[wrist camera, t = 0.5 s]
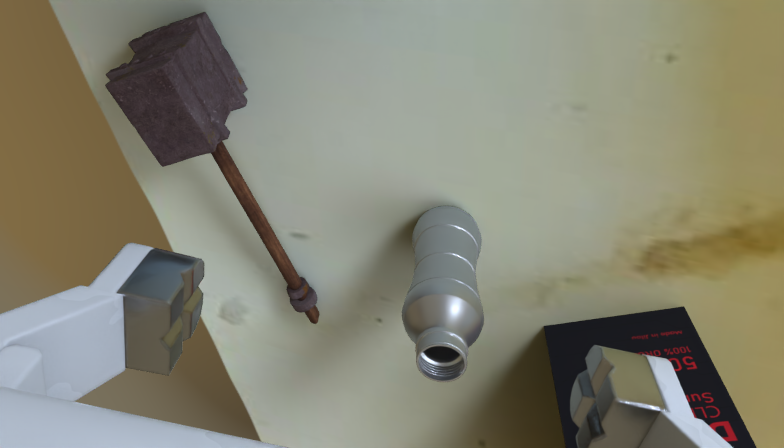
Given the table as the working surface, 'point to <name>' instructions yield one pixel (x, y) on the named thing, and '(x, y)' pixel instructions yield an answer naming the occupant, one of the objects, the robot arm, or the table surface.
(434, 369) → the plastic bottle
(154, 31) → the hammer
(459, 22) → the table surface
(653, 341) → the product box
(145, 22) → the table surface
